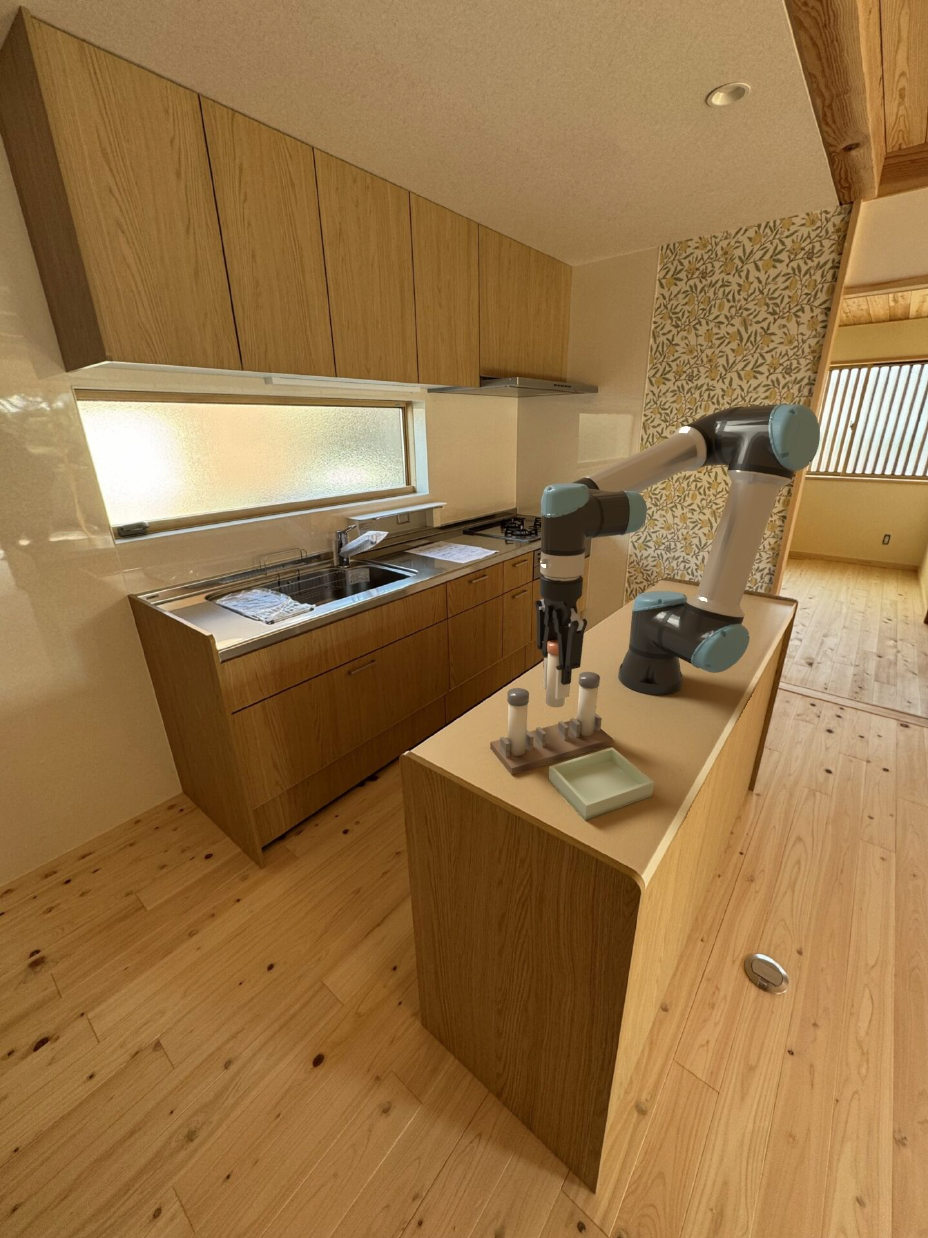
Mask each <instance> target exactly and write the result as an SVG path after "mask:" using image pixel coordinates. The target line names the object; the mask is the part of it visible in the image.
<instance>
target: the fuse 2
mask: <svg viewBox="0 0 928 1238" xmlns="http://www.w3.org/2000/svg"><path fill="white" fill-rule="evenodd" d="M600 676H601V675H599V674H597V672H593V671H583V672H580V673H579V674H578V685H579V687H578V701H577V712H576V713H577V714H576V719H577V721H578V722H579V723H580V735H583V736H590V735H592V734H593V733H594V725H595V715H596V714H597V701H598V693H599V692H598V691H599V686H600V683H601V682H600V681H601V677H600Z"/></svg>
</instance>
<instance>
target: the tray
mask: <svg viewBox="0 0 928 1238" xmlns="http://www.w3.org/2000/svg"><path fill="white" fill-rule="evenodd" d="M548 781H549V782H550V783H551V784H552V785H553V786H554V788H555V789H556V790H557V791H558V792H559V793H560V794H561V795H562V797H563V798H564V799H565V800H566V801H567V802H568V803H569V804H570V805H571V807H573V809H574V810H575V811H576V812H577V813H578V814H579V815H580V816H581V818H582V819H583V820H584V821H587V820H591V819H593V818H596V817H598V816H601V815H605V814H606V813H609V812H611V811H612V812H613V811H615V810H618V809H620V808H623V807H625V806H629V805H632V804H635V803H637V802H640V801H643V800H645V799H648V798H651V797H653V793H654V792H653V791H654V785H655V781H654V780H652V779H651V777H649V776H647V775H646V774H645V773H643V771H641V770H640V768H638V767H637V766H636V765H634V764H633V763H632V762H631V761H630V760H628V759H627V758H626V757H625V756H623V754H621V753H620V752H619V751H617V750H616V749H615V748H614V747H608V748H605V749H602V750H599V751H596V752H595V751H594V752H592V753H588V754H586V755H582V756H579V757H576V758H572V759H569V760H566V761H563V762H559V763H556V764H553V765H549V770H548Z"/></svg>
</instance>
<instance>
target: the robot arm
mask: <svg viewBox="0 0 928 1238" xmlns="http://www.w3.org/2000/svg"><path fill="white" fill-rule="evenodd" d="M818 421H819V420H818V417H817V415H816V414H815V412H814V410H813V409H811V407H809V406H807V405H804V404H790V403H789V404H787V403H783V402H782V403H779V404H766V405H765V404H763V405H751V406H741V405H739V406H731V407H727V408H724V409H721V410H718V411H715V412H712V413H710V414H708V415H705V416H703V417H701V418H697V419H696V420H694V421H692V422H690V423H688V424H685V425H683V426H680V427H679V428H677V429H676V430H675V431H674V432H673V433H672V436H671V437H669V438H666V439H664V440H663V441H660V442H657V443H656V444H653V445H652V446H650V447H649V446H648V448H645V449H643V450H640V451H638V452H636V453H634V454H633V455H630V456H627V457H626V458H623V459H621V460H619V461H617V462H614V463H612V464H611V465H608V466H606V467H604V468H602V469H599V470H598V471H595V472H593V473H591V474H589V475H586V476H585V477H582V478H580V479H578V480H575V481H573V482H571V483H569V482H567V483H565V482H564V483H561V482H560V483H553V484H552V483H551V484H549V485H547V486H546V487H545V488H544V490H543V493H542V495H541V499H540V507H541V510H540V515H541V516H540V517H541V522H540V523H541V524H540V525H541V527H540V528H541V531H540V535H541V536H540V560H539V563H540V570H539V572H540V574H541V575H540V576H539V587H538V589H539V593H538V594H539V595H540V597H541V598H542V599H537V600H535V602H534V605H535V610H536V649H537V650H538V651H541V655H542V657H543V665H542V666H543V667H542V668H543V675H542V677H543V681H542V688H543V689H544V690H546V685H547V664H548V652H547V642H548V641H549V640H554V639H558V651H559V666H556V686H555V698H556V699H561V698H565V699H566V698H568V697H570V691H571V690H570V689H571V683H572V673H573V672H572V671H573V670H576V669H579V668H581V664H582V657H583V656H582V655H583V654H582V653H583V647H584V646H583V644H584V635H585V631H586V628H587V626H588V621H587V618H581V617H580V616H579V615H578V611H579V610H578V606H577V602H578V600H579V599H580V598H581V597H582V596H583V587H584V585H583V583H584V577H582V575H584V573H585V559H586V558H585V556H586V542H587V540H590V539H597V538H604V537H613V536H624V535H627V534H631V533H635V532H638V531H639V530H641V528H642V527H644V524H645V523H646V520H647V514H648V506H647V502H646V499H645V498H644V497H643V495H642V494H641V493H640V492H643V491H644V490H646V489H649V488H651V487H653V486H655V485H658V484H660V483H661V482H663V481H666V480H668V479H669V478H672V477H673V476H676V475H678V474H679V473H682V472H683V471H686V472H694V471H697V470H700V469H701V468H703V467H709V466H728V467H727V469H726V474H727V476H728V477H729V479H730V480H731V484H730V487H729V490H728V494H727V496H726V500H725V501H724V502H725V503H724V506H723V509H722V512H721V516H720V518H719V521H718V524H717V525H718V526H717V528H716V531H715V534H714V538H713V541H712V544H711V547H710V550H709V553H708V557H707V560H706V563H705V566H704V569H703V572H702V575H701V577H700V578H701V579H700V582H699V585H698V589H697V592H696V594H695V595H694V596H692V597H689V598H688V596H687V595H686V594H684V593H683V592H682V593H681V592H677V591H671V590H670V591H669V590H657V591H646V592H642V593H639V594H638V595H636V597H635V598H634V603H633V608H632V611H631V621H630V630H629V631H630V634H629V643H628V649H627V652H626V653H625V656H624V657H623V660H622V663H620V666H619V668H618V676H617V677H618V680H619V681H620V683H621V684H622V685H623V686H625V687H626V688H629V689H631V690H632V691H635V692H639V693H643V694H647V695H656V696H657V695H660V696H661V695H671V694H674V693H677V692H678V691H680V689H681V688H682V684H683V677H684V676H683V673H682V671H681V664H680V663H681V662H680V660H682V661H685V662H687V663H688V664H691V666H693V667H695V668H696V669H697V668H698V669H701V670H703V671H706V672H708V673H712V674H713V673H714V674H716V673H718V674H719V673H723V672H725V671H727V670H728V669H731V667H733V666H735V664H737V663H738V662H739V661H740V660H741V658H742V657H743V656H744V654H745V652H746V651H747V649H748V647H749V644H750V640H751V639H750V633H749V630H748V628H746V627H745V625H743V622H744V618H745V612H744V610H743V609H742V608H741V605H740V604H741V602H742V600H743V596H744V594H745V590H746V587H747V585H748V581H749V578H750V575H751V573H752V570H753V567H754V565H755V562H756V560H757V559H756V558H757V556H758V553H759V550H760V548H761V547H760V546H761V544H762V542H763V541H762V540H763V538H764V535H765V531H766V528H767V526H768V523H769V520H770V517H771V515H772V511H773V509H774V505H775V503H776V500H777V498H778V497H777V496H778V494H779V491H780V490H781V489H782V488H784V487H785V486H787V485H789V484H790V483H792V480H793V478H794V475H795V472H798V471H800V470H804V469H806V468H807V467H808V466H809V465H810V463H811V462H812V461H813V460H814V458H815V457H816V455H817V452H818V450H819V445H820V441H821V440H820V439H821V430H820V429H821V428H820V423H819V422H818Z"/></svg>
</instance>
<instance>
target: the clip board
mask: <svg viewBox="0 0 928 1238" xmlns="http://www.w3.org/2000/svg"><path fill="white" fill-rule="evenodd" d="M601 727H602V717H601V716H600V715H598V714H597V713H596V715H595V725H594V733H593V734H592V735H590V736H583V735H580V723H579V722H578V721H577V718H575V717H571V718H570V719H569V720H568V721H563V720H562V721H558V723H556V724H553V725H549V726H545V727H542V728H541V727H536V728H535V729H534V730H530V731H529V730H528V729H527V736H526V752H525V754H523V755H521V756H514V755H511V754H510V743H509V742H508V737H505V736H501V737H499V738H500V739H497V740H494V741H490V742H489V744H490V747H489V748H490V750H491V751H492V752H493V754H494V755H495V756H496V757H497V759H498V760H499V761H500V763H502V766H504V767H505V769H506V770H507V771H508V772H509V774H510V775H511V776H513V775H517V774H519V773H522V772H523V773H524V772H526V771H529V770H533V769H536V768H539V767H543V766H546V765H550V764H553V763H556V762H560V761H562V760H567V759H570V758H573V757H576V756H579V755H583V754H585V753H589V752H591V751H592V752H593V751H596V750H600V749H602V748H603V749H604V748H606V747H609V746H612V745H613V742H614V741H613V740H614V739H613V737H611V735H609V734H608V733H607V732H606V731H604V729H602V728H601Z"/></svg>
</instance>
